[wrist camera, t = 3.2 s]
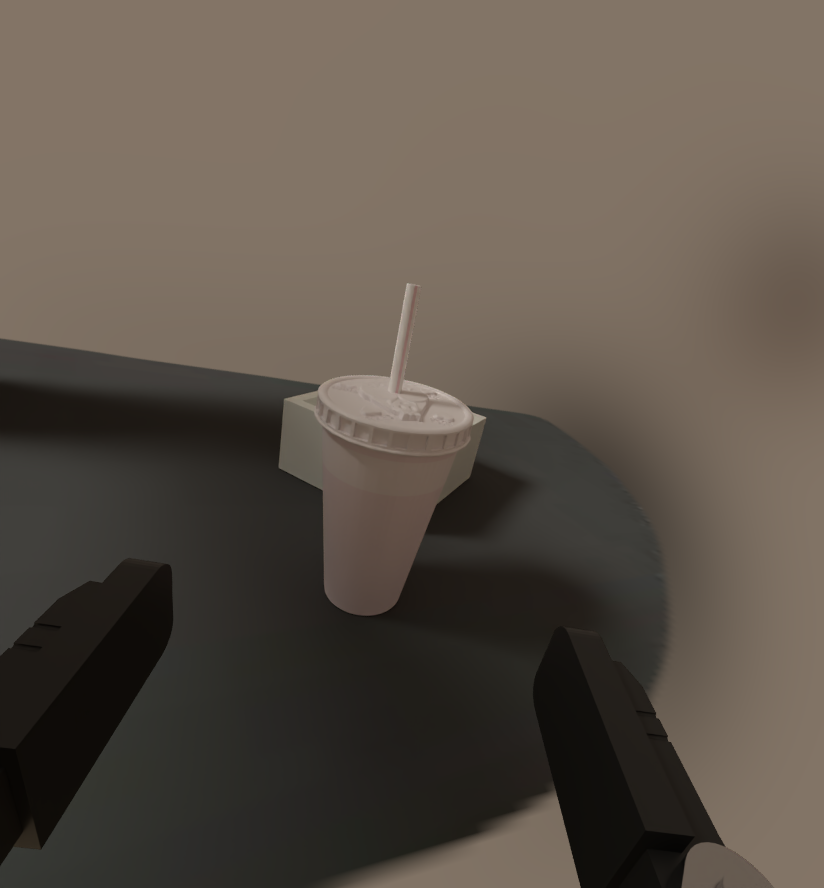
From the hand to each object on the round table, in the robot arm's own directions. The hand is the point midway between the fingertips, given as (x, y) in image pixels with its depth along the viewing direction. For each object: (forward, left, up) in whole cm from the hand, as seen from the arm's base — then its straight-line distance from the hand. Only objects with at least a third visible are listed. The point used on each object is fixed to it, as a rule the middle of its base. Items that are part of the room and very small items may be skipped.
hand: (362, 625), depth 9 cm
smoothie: (-5, +9, -8) cm, 13 cm away
